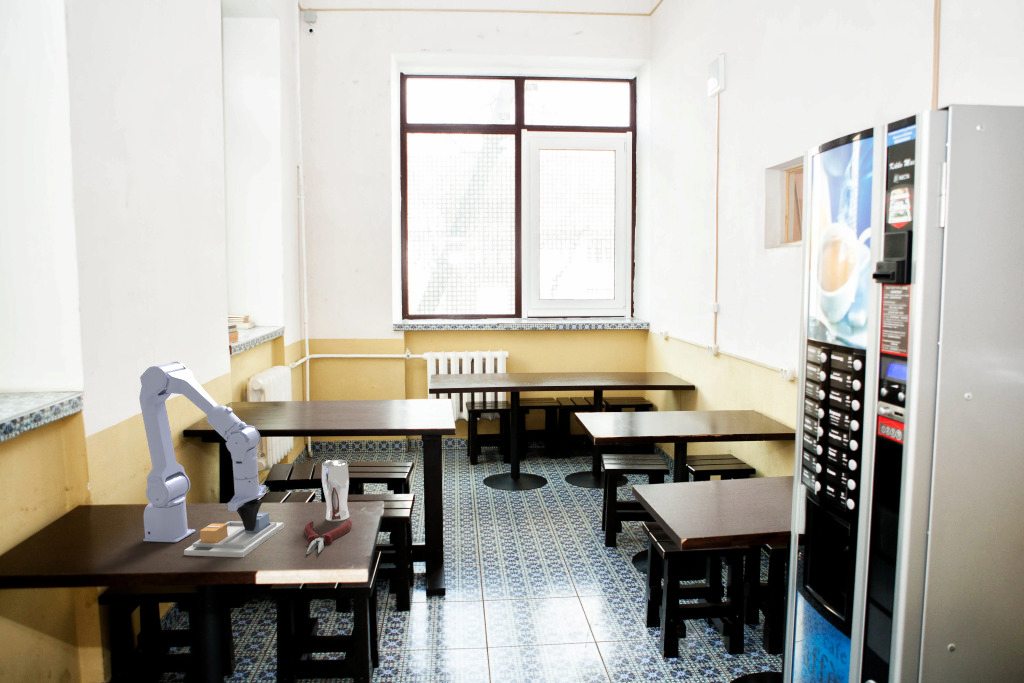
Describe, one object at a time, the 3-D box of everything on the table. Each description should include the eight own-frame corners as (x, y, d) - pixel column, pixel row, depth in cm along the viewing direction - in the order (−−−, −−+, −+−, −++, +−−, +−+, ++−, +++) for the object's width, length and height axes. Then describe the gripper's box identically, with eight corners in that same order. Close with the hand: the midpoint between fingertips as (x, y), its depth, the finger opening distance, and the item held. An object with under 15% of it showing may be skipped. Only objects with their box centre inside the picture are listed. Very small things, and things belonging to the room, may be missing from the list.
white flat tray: (184, 555, 173) (183, 546, 173) (231, 525, 193) (230, 518, 193) (242, 557, 171) (242, 549, 171) (284, 527, 190) (283, 519, 190)
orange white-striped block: (201, 544, 176) (199, 529, 176) (213, 537, 181) (211, 522, 181) (216, 545, 176) (215, 530, 175) (227, 537, 180) (226, 523, 180)
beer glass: (347, 522, 193) (344, 466, 191) (321, 522, 193) (317, 466, 191) (353, 513, 200) (350, 459, 198) (328, 513, 200) (324, 459, 198)
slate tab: (245, 532, 183) (243, 518, 183) (255, 525, 188) (254, 511, 188) (259, 533, 183) (258, 518, 182) (269, 526, 188) (268, 512, 187)
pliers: (287, 559, 170) (286, 548, 169) (308, 529, 190) (307, 519, 190) (337, 557, 170) (337, 546, 170) (353, 527, 190) (352, 517, 190)
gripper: (245, 485, 173) (249, 541, 174) (275, 468, 187) (279, 520, 188) (218, 484, 174) (222, 540, 175) (250, 468, 188) (253, 519, 190)
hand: (249, 530), depth 182 cm, fingers closed
